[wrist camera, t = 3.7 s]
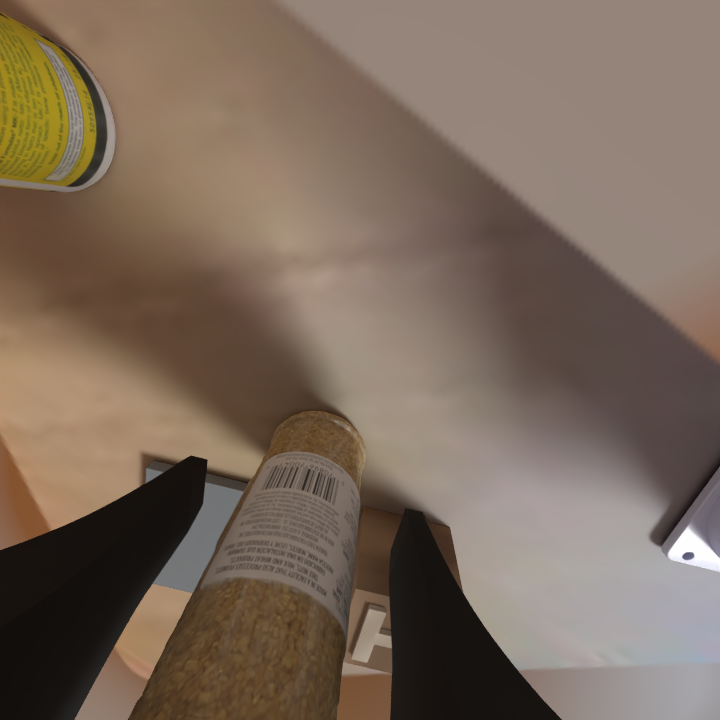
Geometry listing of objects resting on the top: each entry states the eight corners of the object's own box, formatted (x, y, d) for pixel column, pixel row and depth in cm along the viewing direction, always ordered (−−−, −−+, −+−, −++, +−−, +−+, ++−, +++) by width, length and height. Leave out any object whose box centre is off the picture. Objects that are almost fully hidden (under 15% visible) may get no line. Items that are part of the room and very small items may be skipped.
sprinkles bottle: (259, 463, 18) (-54, 1042, 5) (296, 389, 16) (-24, 963, 4) (342, 502, 18) (239, 1120, 6) (386, 433, 17) (379, 1079, 4)
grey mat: (309, 498, 18) (306, 506, 18) (284, 603, 21) (281, 614, 21) (153, 460, 18) (146, 468, 18) (149, 571, 21) (143, 581, 20)
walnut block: (449, 525, 18) (468, 620, 14) (423, 586, 20) (433, 688, 16) (363, 505, 18) (355, 593, 14) (344, 567, 20) (331, 664, 16)
